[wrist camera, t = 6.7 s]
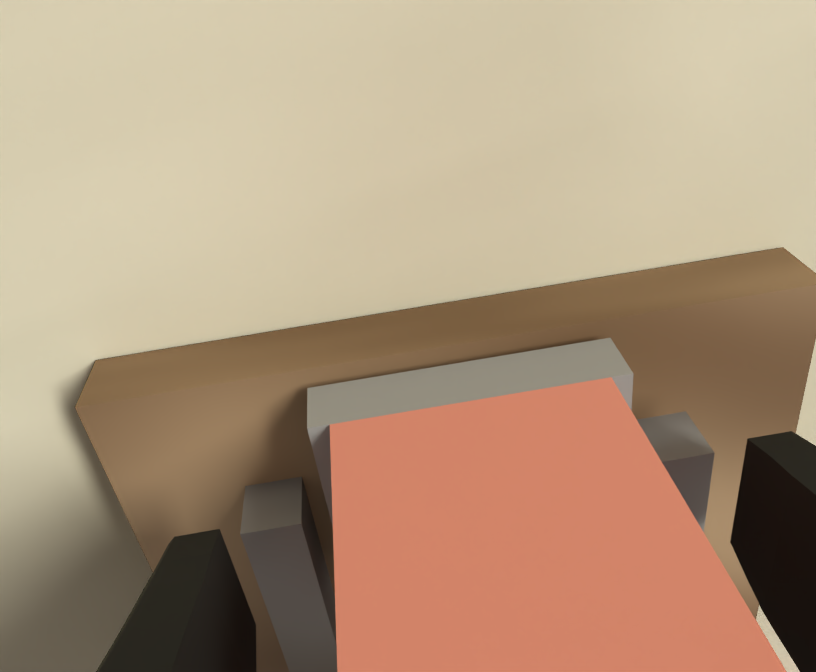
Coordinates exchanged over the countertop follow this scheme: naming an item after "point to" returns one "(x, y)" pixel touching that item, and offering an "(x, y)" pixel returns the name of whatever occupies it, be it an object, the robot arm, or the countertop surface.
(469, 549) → the block
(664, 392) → the cracker bench
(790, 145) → the countertop surface
